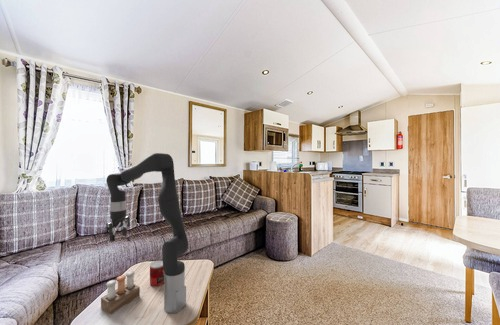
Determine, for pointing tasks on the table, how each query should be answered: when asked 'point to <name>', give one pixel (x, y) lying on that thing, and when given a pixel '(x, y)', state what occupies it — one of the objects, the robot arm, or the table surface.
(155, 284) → the canned food
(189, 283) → the table surface
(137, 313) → the table surface
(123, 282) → the plug terracotta
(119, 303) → the walnut block
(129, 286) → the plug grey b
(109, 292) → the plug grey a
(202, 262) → the table surface
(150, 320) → the table surface
